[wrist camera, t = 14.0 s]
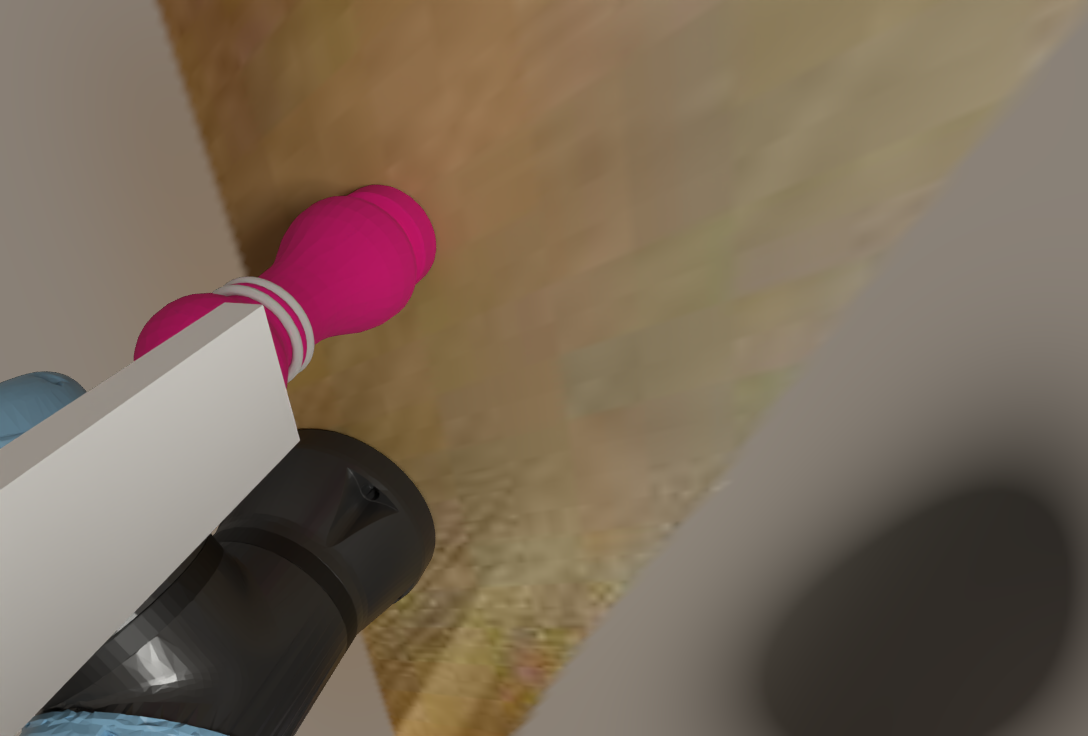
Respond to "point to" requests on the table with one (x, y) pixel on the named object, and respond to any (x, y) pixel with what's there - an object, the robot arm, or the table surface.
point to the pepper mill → (323, 275)
